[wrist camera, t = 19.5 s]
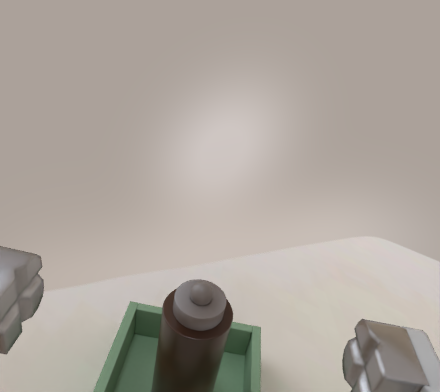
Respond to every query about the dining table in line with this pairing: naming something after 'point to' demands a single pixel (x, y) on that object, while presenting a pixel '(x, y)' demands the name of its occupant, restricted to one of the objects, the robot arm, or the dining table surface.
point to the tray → (147, 347)
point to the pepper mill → (192, 338)
